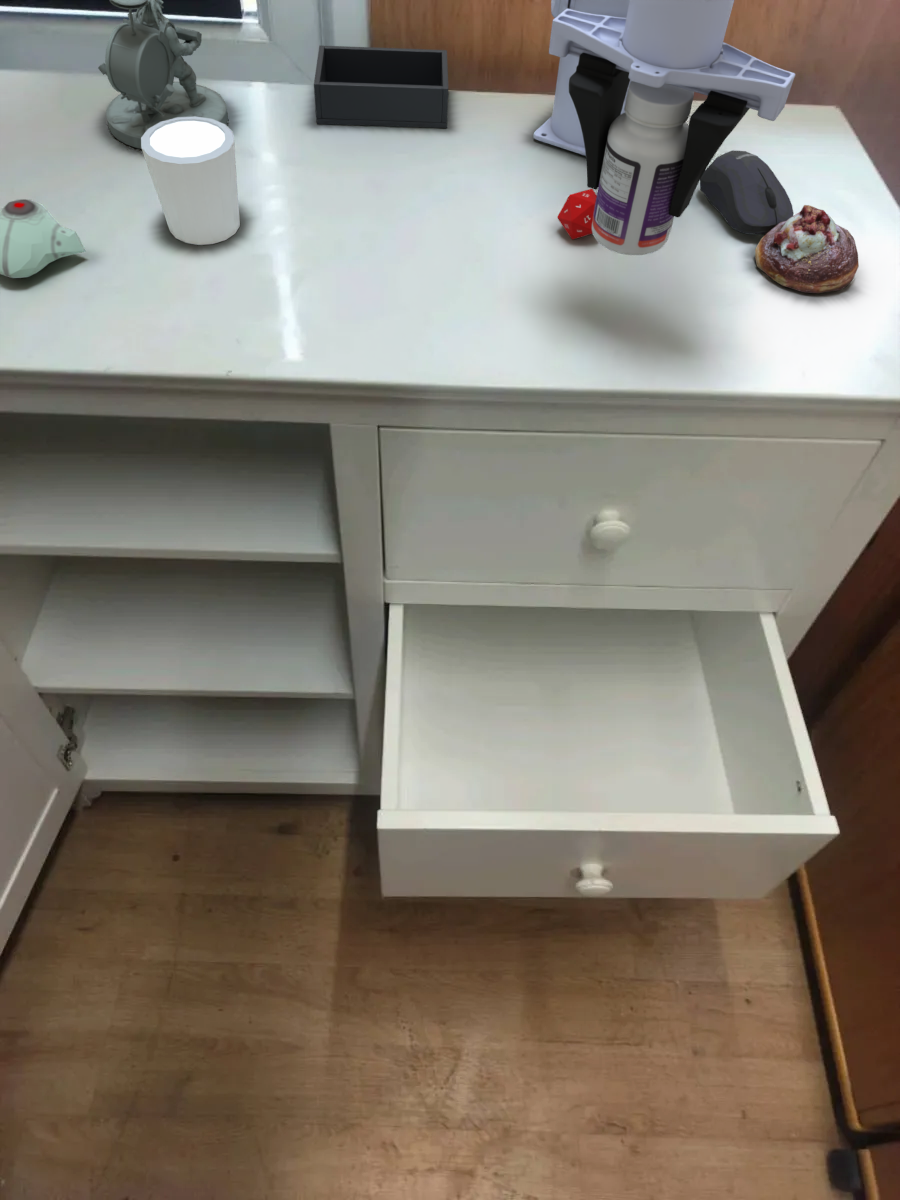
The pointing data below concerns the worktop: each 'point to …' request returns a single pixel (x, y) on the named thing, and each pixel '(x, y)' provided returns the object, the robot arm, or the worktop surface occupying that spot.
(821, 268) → the pastry
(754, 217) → the computer mouse
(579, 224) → the die
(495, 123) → the worktop surface
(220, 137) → the white cylinder
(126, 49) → the figurine
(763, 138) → the worktop surface
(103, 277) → the worktop surface
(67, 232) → the robot head
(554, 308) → the worktop surface
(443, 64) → the bin
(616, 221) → the pill bottle
